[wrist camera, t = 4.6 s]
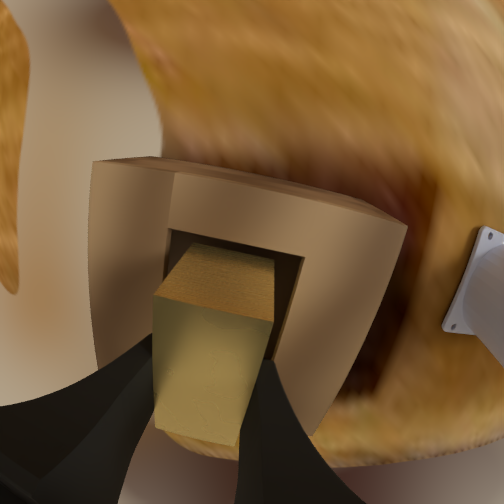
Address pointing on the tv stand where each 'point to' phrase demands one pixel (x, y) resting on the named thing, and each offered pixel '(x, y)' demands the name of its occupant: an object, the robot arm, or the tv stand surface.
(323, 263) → the box
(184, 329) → the block
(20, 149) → the tv stand surface
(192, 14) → the tv stand surface
